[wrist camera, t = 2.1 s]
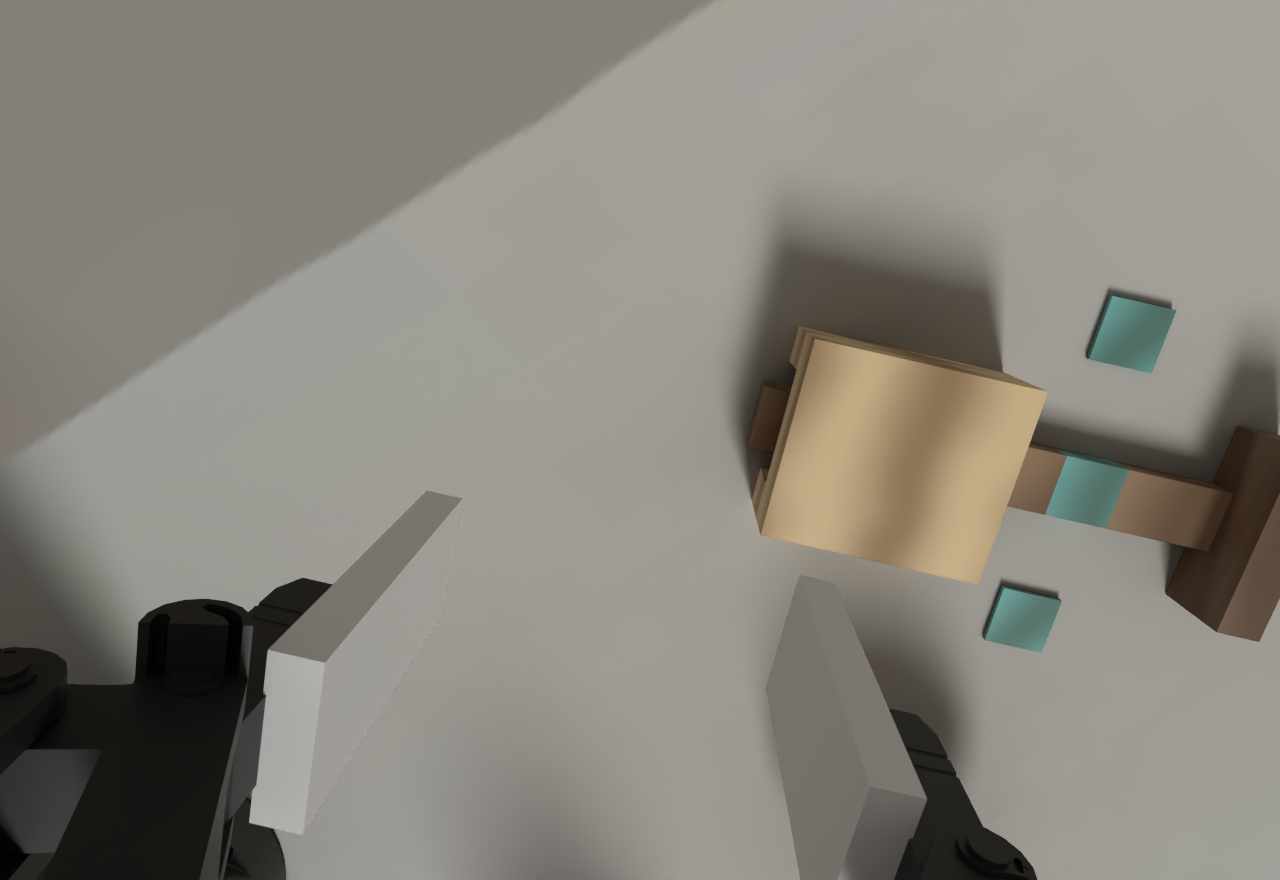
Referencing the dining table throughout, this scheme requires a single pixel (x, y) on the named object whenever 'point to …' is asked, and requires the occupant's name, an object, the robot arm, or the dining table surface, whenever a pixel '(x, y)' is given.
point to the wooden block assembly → (1140, 503)
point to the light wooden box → (895, 455)
